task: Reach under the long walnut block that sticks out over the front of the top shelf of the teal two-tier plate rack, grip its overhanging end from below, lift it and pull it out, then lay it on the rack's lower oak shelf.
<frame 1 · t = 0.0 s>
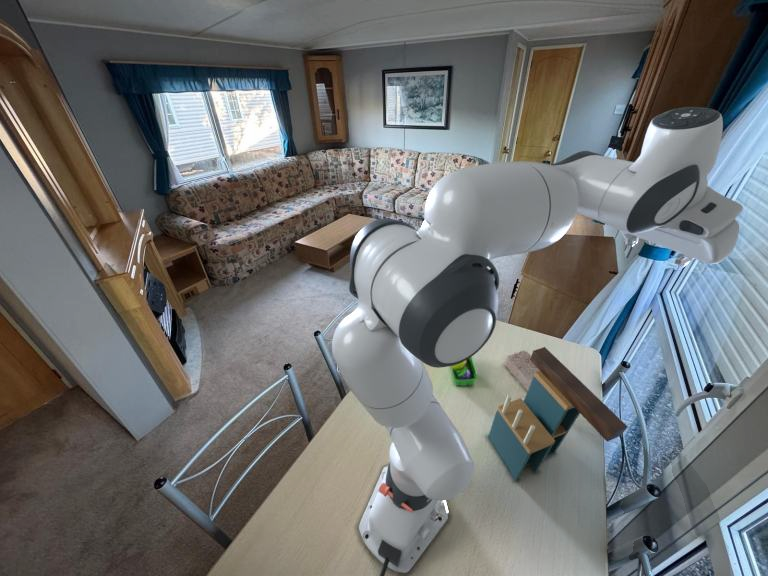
hand: (655, 253, 62), 54 cm above the table, tool tilted 30°, fingers open, 8 cm apart
block: (569, 393, 68), point 26 cm above the table, touching plate rack
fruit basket: (459, 375, 105), on the table
brick: (528, 378, 102), on the table
plate rack: (520, 445, 84), on the table
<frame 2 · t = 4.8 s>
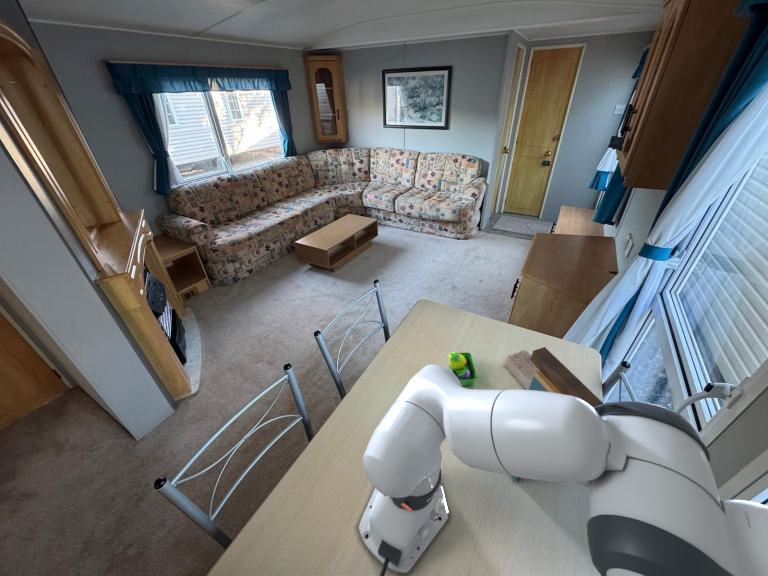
hand: (645, 494, 56), 21 cm above the table, tool pointing upward, fingers open, 8 cm apart
nothing on the table moved.
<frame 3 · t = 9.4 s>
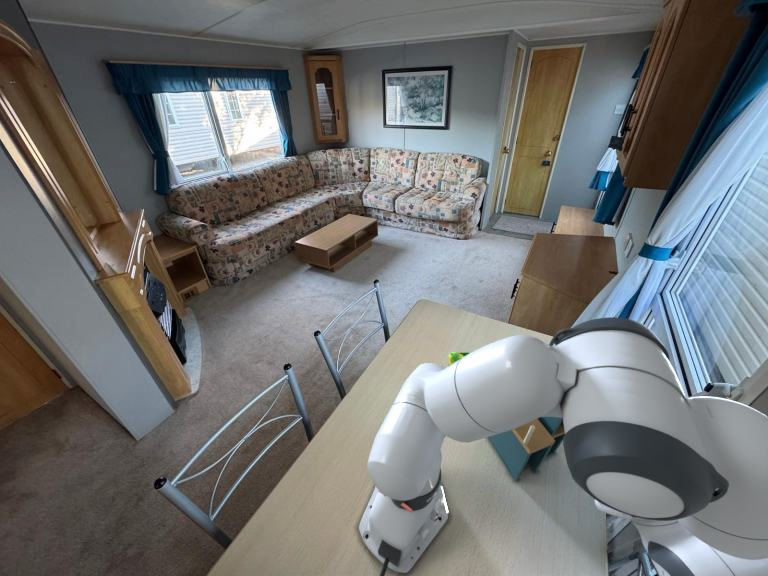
hand: (603, 418, 61), 28 cm above the table, tool pointing upward, fingers closed on block, 3 cm apart
block: (569, 393, 68), point 26 cm above the table, touching gripper, plate rack
everything else where it was.
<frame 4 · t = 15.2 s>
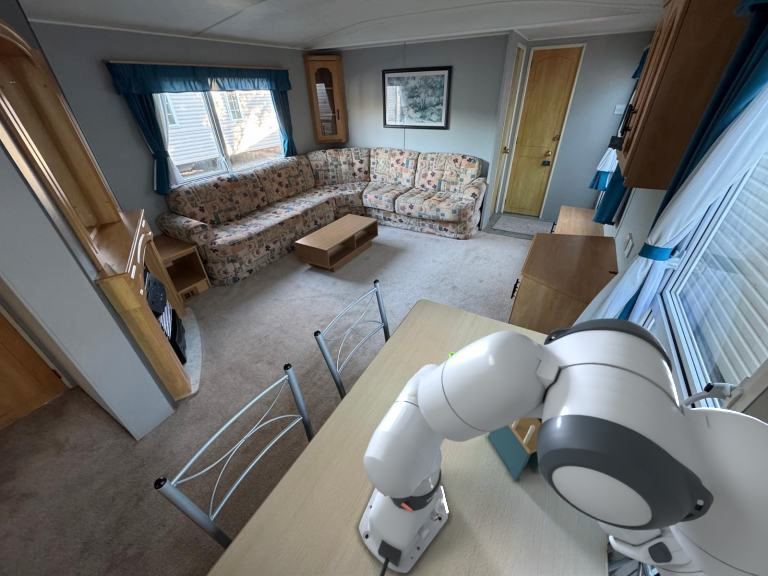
hand: (618, 441, 53), 32 cm above the table, tool pointing upward, fingers closed on block, 3 cm apart
block: (579, 410, 61), point 30 cm above the table, touching gripper
everything else where it was.
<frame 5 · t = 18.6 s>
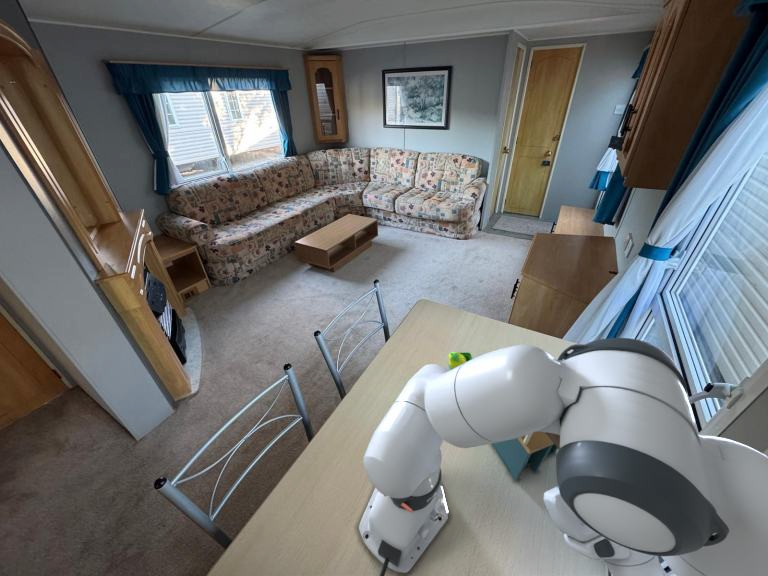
hand: (575, 449, 59), 25 cm above the table, tool pointing upward, fingers closed on block, 3 cm apart
block: (543, 420, 67), point 23 cm above the table, touching gripper
everything else where it was.
when the fingers open (18 cm above the table, at t = 21.3 s): block stays where it is, resting on plate rack.
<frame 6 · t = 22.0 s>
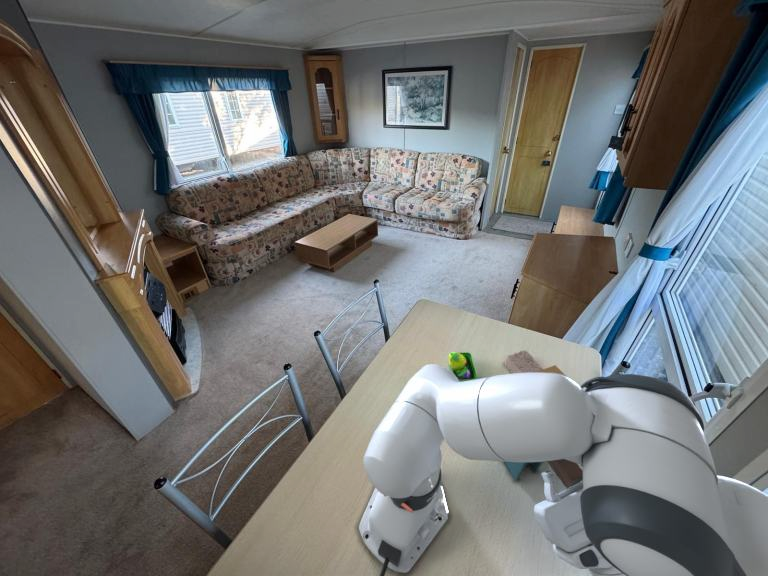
hand: (564, 463, 63), 19 cm above the table, tool pointing upward, fingers open, 8 cm apart
block: (535, 436, 71), point 16 cm above the table, touching plate rack
everything else where it was.
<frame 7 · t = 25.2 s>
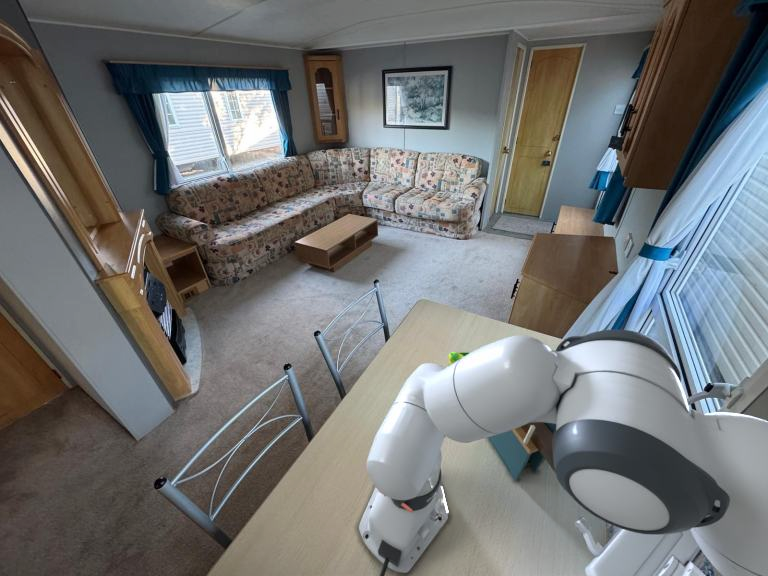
hand: (594, 503, 56), 21 cm above the table, tool horizontal, fingers open, 8 cm apart
nothing on the table moved.
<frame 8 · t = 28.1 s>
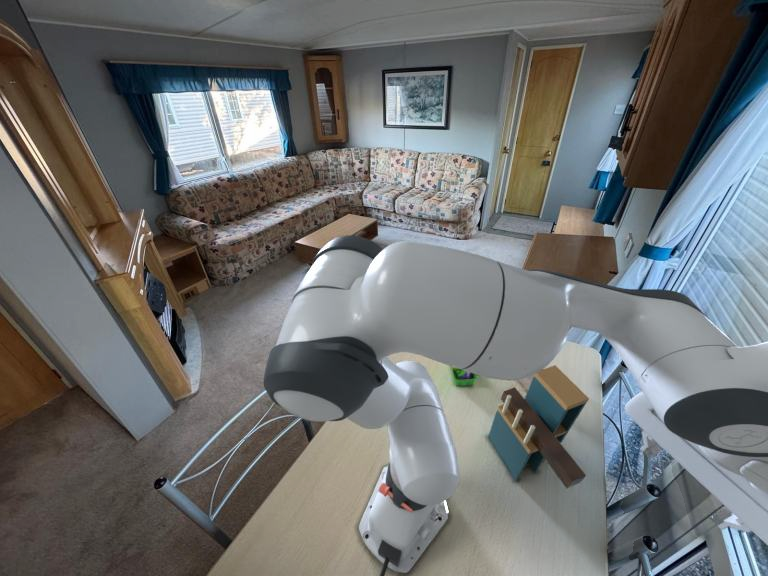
hand: (680, 484, 43), 37 cm above the table, tool pointing down, fingers open, 8 cm apart
nothing on the table moved.
at the end: block inside the target area on the plate rack (0.1 cm from its centre), point 16.0 cm above the plate rack's base; block tilted 0°; the gripper is holding nothing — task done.
